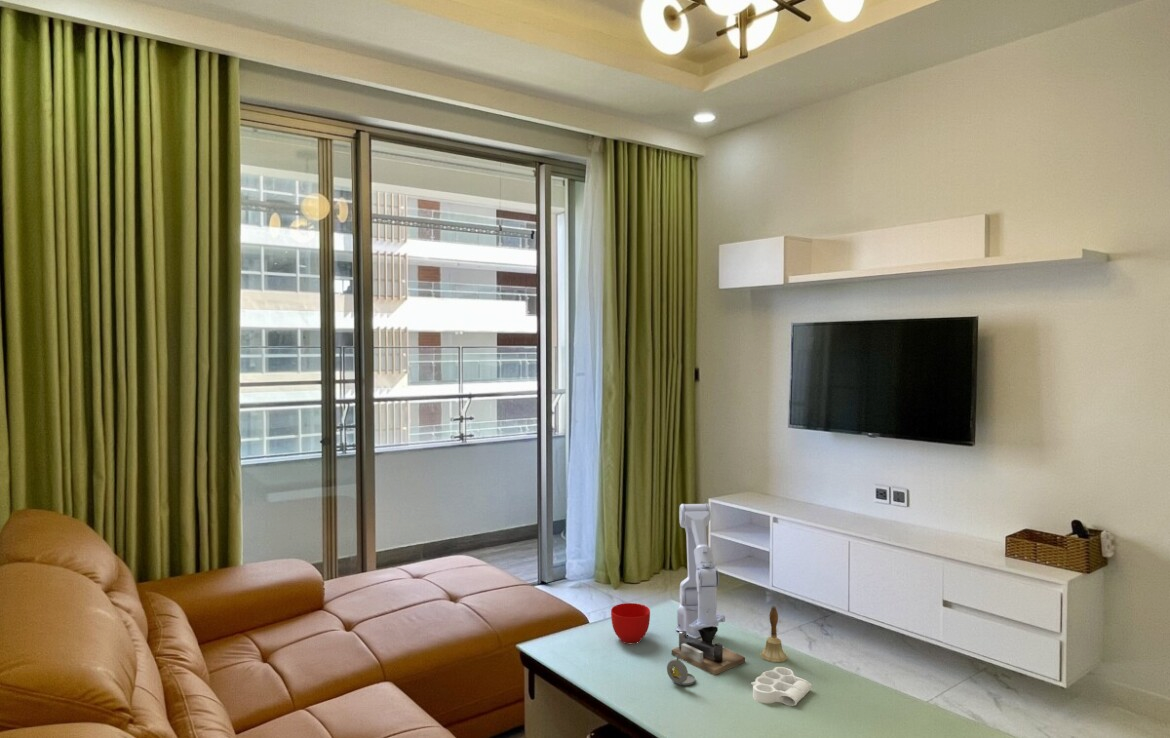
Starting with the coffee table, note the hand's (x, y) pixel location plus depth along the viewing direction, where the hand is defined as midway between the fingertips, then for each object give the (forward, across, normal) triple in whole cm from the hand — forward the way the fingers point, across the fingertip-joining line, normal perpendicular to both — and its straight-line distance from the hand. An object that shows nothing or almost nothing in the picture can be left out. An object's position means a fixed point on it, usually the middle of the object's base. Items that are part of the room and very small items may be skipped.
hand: (707, 649), depth 221 cm
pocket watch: (+3, -18, -6) cm, 19 cm away
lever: (+1, -2, +1) cm, 3 cm away
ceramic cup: (+3, -8, +26) cm, 27 cm away
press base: (+3, 0, 0) cm, 3 cm away
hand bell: (+3, +17, -12) cm, 21 cm away
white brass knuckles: (+4, 0, -27) cm, 27 cm away
